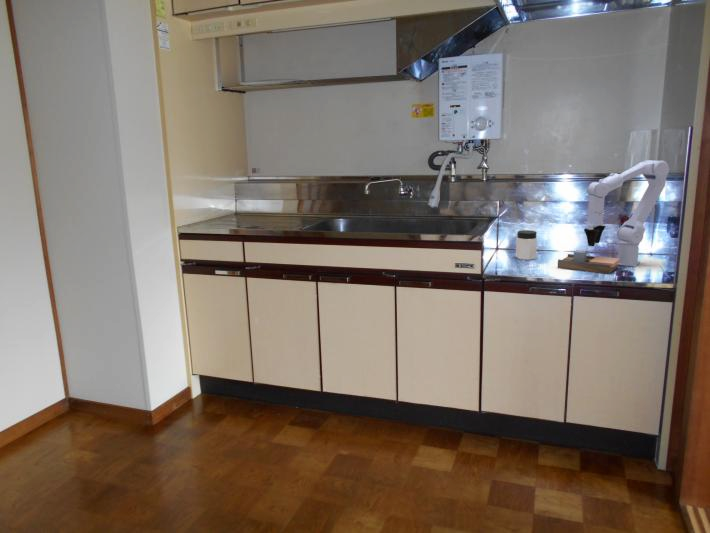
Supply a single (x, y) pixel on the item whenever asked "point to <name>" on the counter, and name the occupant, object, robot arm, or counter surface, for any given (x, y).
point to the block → (580, 256)
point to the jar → (526, 245)
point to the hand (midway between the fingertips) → (593, 244)
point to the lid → (605, 261)
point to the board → (584, 265)
